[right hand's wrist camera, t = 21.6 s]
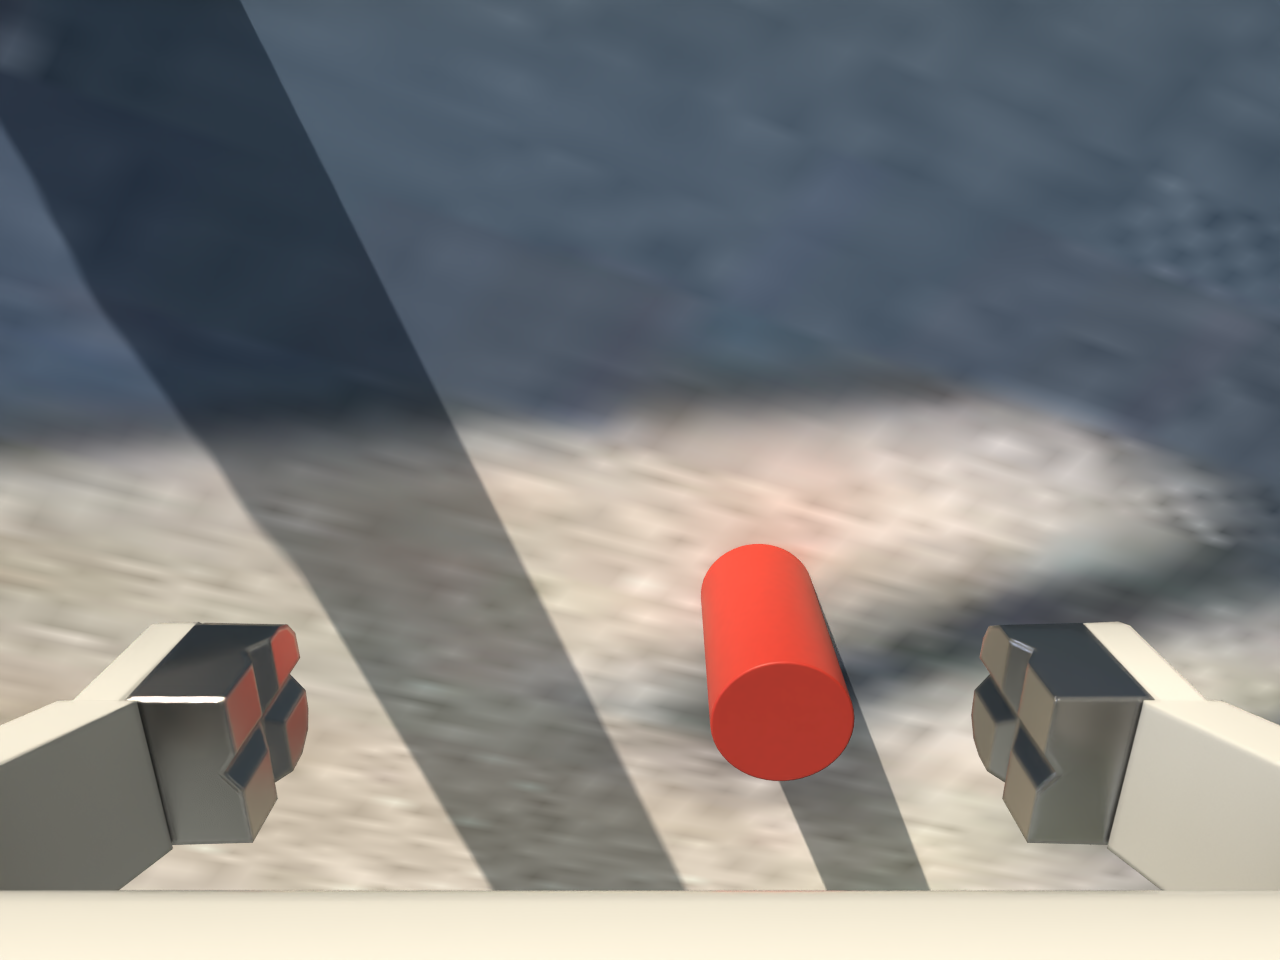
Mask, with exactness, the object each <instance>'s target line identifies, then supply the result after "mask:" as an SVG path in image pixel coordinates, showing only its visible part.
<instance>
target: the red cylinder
mask: <svg viewBox="0 0 1280 960" xmlns="http://www.w3.org/2000/svg"><path fill="white" fill-rule="evenodd" d="M701 604H702V618H703V631H704V645H705V659H706V672H707V686H708V700H709V714H710V727H711V733H712V737H713V740H714V742H715V744H716V746H717V748H718V750H719V751H720V753H721V754H722V756H723V757H724V758H725V759H726V760H727V761H728V762H729V763H730V764H732V765H733V766H734V767H735V768H737V769H739V770H740V771H742V772H744V773H746V774H748V775H750V776H753V777H756V778H760V779H765V780H772V781H788V780H796V779H800V778H804V777H807V776H810V775H813V774H815V773H817V772H819V771H821V770H823V769H824V768H826V767H827V766H829V765H830V764H831V763H833V762H834V761H835V760H836V759H837V758H838V757H839V756H840V755H841V753H842V752H843V751H844V749H845V748H846V746H847V744H848V743H849V740H850V738H851V735H852V732H853V727H854V709H853V705H852V702H851V699H850V696H849V693H848V690H847V687H846V684H845V681H844V678H843V675H842V672H841V669H840V665H839V662H838V659H837V656H836V653H835V650H834V647H833V644H832V641H831V638H830V635H829V632H828V629H827V626H826V623H825V620H824V617H823V614H822V611H821V608H820V605H819V602H818V599H817V596H816V593H815V590H814V587H813V584H812V581H811V578H810V576H809V573H808V571H807V570H806V568H805V566H804V565H803V564H802V563H801V562H800V561H799V560H798V559H797V558H796V557H795V556H794V555H792V554H791V553H789V552H787V551H786V550H784V549H781V548H778V547H775V546H771V545H765V544H752V545H745V546H741V547H738V548H736V549H733V550H731V551H729V552H727V553H726V554H724V555H723V556H721V557H720V558H719V559H718V560H717V561H716V562H715V563H714V564H713V565H712V566H711V567H710V569H709V570H708V572H707V574H706V576H705V578H704V581H703V584H702V589H701Z"/></svg>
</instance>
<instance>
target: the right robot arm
mask: <svg viewBox="0 0 1280 960" xmlns="http://www.w3.org/2000/svg"><path fill="white" fill-rule="evenodd" d="M299 659H300V654H299V649H298V644H297V639H296V634H295V632H294V631H293V630H292V629H291V628H290V627H289V626H288V625H287V624H238V623H203V624H202V623H200V622H180V623H159V624H152V625H151V626H150V627H149V628H147V629H146V630H145V631H144V632H143V633H142V634H141V635H140V636H139V637H138V638H137V639H136V640H135V641H134V642H133V643H132V644H131V645H130V646H129V647H128V648H127V649H126V650H125V651H124V652H123V653H122V654H120V655H119V656H118V657H117V658H116V659H115V660H114V661H113V662H112V663H111V664H110V665H109V666H108V667H107V668H106V669H105V670H104V671H103V672H102V673H101V674H100V675H99V676H98V677H97V678H96V679H94V680H93V681H92V682H91V683H90V684H89V685H88V686H87V687H86V688H85V689H84V690H83V691H82V692H81V693H80V694H79V695H78V696H77V697H76V698H75V699H74V700H66V701H56V702H54V703H51V704H49V705H47V706H44V707H42V708H40V709H37V710H35V711H33V712H30V713H28V714H26V715H23V716H21V717H19V718H16V719H14V720H12V721H9V722H7V723H5V724H2V725H0V960H1280V725H1278V724H1275V723H1273V722H1271V721H1268V720H1266V719H1264V718H1261V717H1259V716H1257V715H1254V714H1252V713H1250V712H1247V711H1245V710H1243V709H1240V708H1238V707H1236V706H1233V705H1231V704H1229V703H1226V702H1224V701H1214V700H1206V699H1205V698H1204V697H1203V696H1202V695H1201V694H1200V693H1199V692H1198V691H1197V690H1196V689H1195V688H1194V687H1193V686H1192V685H1191V684H1190V683H1189V682H1188V681H1187V680H1186V679H1185V678H1184V677H1183V676H1181V675H1180V674H1179V673H1178V672H1177V671H1176V670H1175V669H1174V668H1173V667H1172V666H1171V665H1170V664H1169V663H1168V662H1167V661H1166V660H1165V659H1164V658H1163V657H1162V656H1161V655H1160V654H1159V653H1158V652H1157V651H1156V650H1155V649H1154V648H1152V647H1151V646H1150V645H1149V644H1148V643H1147V642H1146V641H1145V640H1144V639H1143V638H1142V637H1141V636H1140V635H1139V634H1138V633H1137V632H1136V631H1135V630H1134V629H1133V628H1132V627H1131V626H1129V625H1126V624H1123V623H1120V622H1102V623H1065V624H1025V625H996V626H989V627H988V629H987V632H986V634H985V636H984V638H983V642H982V648H981V654H980V659H981V660H982V662H983V663H984V665H985V666H986V668H987V670H988V671H989V673H990V675H989V676H988V677H987V678H986V679H985V680H984V681H983V682H982V683H981V684H980V685H979V686H978V687H977V688H976V689H975V690H974V698H973V706H972V714H971V717H972V728H973V738H974V742H975V745H976V748H977V751H978V755H979V757H980V759H981V761H982V762H983V764H984V766H985V768H986V770H987V771H988V772H989V773H991V774H993V775H994V776H996V777H997V778H999V779H1000V780H1002V781H1003V782H1005V787H1004V792H1003V798H1002V799H1003V801H1004V802H1005V804H1006V806H1007V808H1008V809H1009V811H1010V813H1011V815H1012V816H1013V818H1014V820H1015V822H1016V824H1017V825H1018V827H1019V829H1020V831H1021V832H1022V834H1023V836H1024V838H1025V839H1026V841H1027V843H1060V844H1096V845H1108V846H1107V849H1109V850H1110V851H1111V852H1112V853H1114V854H1115V855H1116V856H1118V857H1119V858H1120V859H1122V860H1123V861H1124V862H1125V863H1127V864H1128V865H1129V866H1131V867H1132V868H1133V869H1135V870H1136V871H1137V872H1138V873H1140V874H1141V875H1142V876H1144V877H1145V878H1146V879H1148V880H1149V881H1150V882H1151V883H1153V884H1154V885H1155V886H1157V887H1158V888H1159V889H1161V890H1162V891H269V890H268V891H267V890H120V889H121V888H122V887H124V886H125V885H126V884H127V883H129V882H130V881H131V880H133V879H134V878H135V877H137V876H138V875H139V874H141V873H142V872H143V871H144V870H146V869H147V868H148V867H150V866H151V865H152V864H154V863H155V862H156V861H157V860H159V859H160V858H161V857H163V856H164V855H165V854H167V853H168V852H169V851H170V850H172V848H173V847H172V845H183V844H219V843H253V841H254V840H255V838H256V836H257V834H258V832H259V831H260V829H261V827H262V825H263V824H264V822H265V820H266V818H267V817H268V815H269V813H270V811H271V809H272V808H273V806H274V804H275V802H276V801H277V799H278V798H277V792H276V787H275V782H277V781H278V780H280V779H281V778H283V777H284V776H286V775H287V774H289V773H291V772H292V771H293V770H294V768H295V766H296V764H297V762H298V760H299V759H300V757H301V755H302V752H303V748H304V744H305V740H306V735H307V731H308V703H307V697H306V690H305V689H304V688H303V687H302V686H301V685H300V684H299V683H298V682H297V681H296V680H295V679H294V678H293V677H292V676H291V675H290V673H291V671H292V670H293V668H294V666H295V665H296V663H297V662H298V660H299Z"/></svg>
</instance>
